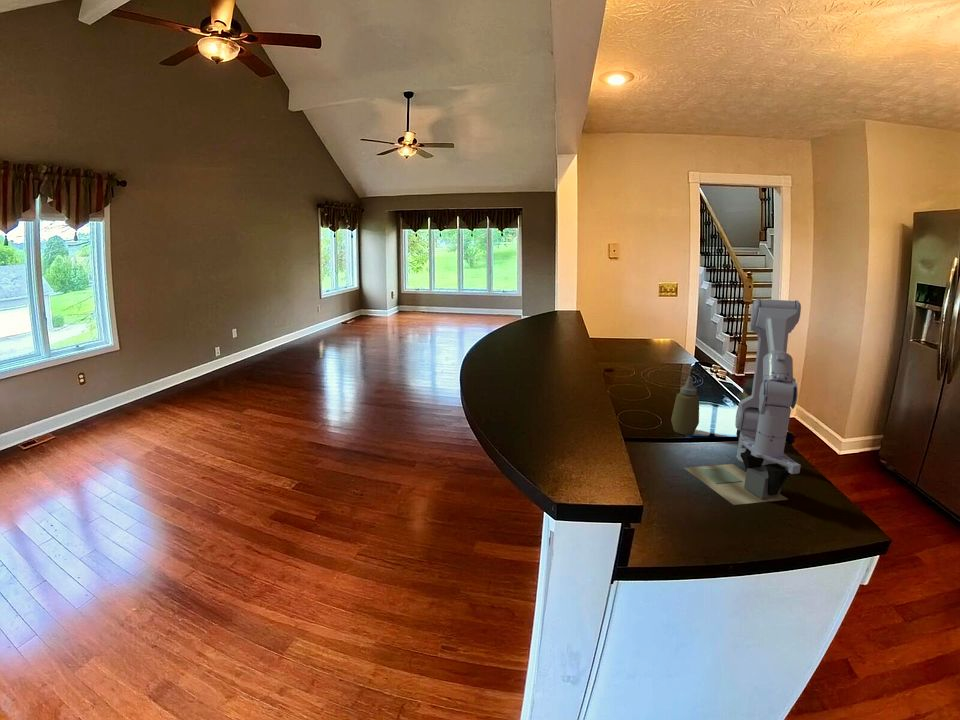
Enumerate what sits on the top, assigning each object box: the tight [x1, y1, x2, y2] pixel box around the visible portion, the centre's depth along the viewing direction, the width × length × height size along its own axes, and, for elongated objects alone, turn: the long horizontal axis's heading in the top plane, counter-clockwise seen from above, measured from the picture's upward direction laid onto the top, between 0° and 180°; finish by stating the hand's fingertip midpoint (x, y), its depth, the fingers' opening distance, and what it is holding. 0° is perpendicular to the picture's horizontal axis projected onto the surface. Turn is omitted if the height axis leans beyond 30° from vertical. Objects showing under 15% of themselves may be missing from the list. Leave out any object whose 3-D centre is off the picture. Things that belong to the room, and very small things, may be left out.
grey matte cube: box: [744, 465, 782, 499], centre depth 108 cm, size 5×5×5 cm
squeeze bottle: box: [670, 375, 700, 436], centre depth 146 cm, size 8×8×18 cm
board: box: [684, 463, 789, 506], centre depth 113 cm, size 14×18×6 cm
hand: (762, 488), depth 108 cm, fingers closed on grey matte cube, 5 cm apart
